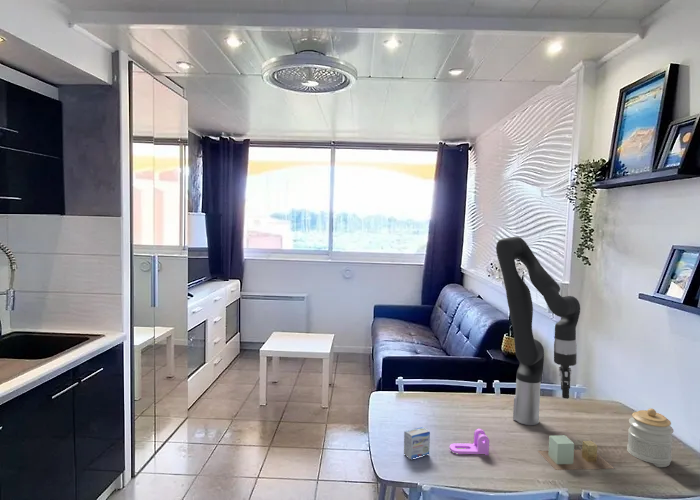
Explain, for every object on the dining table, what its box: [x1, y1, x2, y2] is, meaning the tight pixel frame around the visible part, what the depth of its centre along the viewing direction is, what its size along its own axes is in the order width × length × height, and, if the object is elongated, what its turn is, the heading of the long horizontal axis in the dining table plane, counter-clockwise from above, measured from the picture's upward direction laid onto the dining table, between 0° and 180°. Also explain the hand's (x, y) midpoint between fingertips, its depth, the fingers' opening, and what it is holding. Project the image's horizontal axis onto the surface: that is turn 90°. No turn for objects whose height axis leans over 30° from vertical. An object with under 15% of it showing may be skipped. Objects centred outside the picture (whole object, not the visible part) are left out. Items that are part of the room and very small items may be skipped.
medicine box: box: [403, 426, 431, 460], centre depth 158 cm, size 8×4×9 cm, turn 117°
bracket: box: [448, 428, 490, 456], centre depth 162 cm, size 13×6×7 cm, turn 91°
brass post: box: [581, 440, 598, 462], centre depth 155 cm, size 3×3×6 cm
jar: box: [626, 407, 675, 468], centre depth 159 cm, size 13×13×18 cm
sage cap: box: [548, 435, 575, 464], centre depth 154 cm, size 6×6×7 cm
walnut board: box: [537, 449, 615, 471], centre depth 155 cm, size 20×12×2 cm, turn 94°
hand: (564, 393), depth 170 cm, fingers open, 8 cm apart
